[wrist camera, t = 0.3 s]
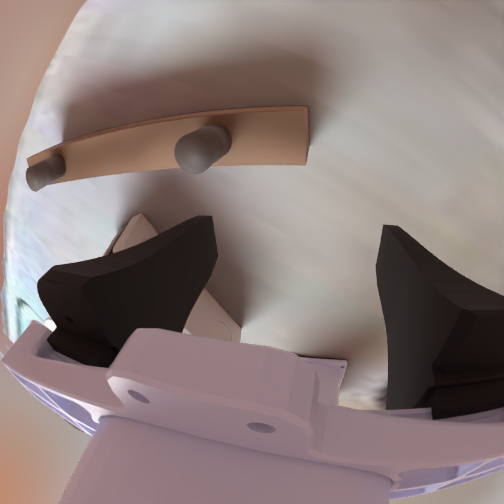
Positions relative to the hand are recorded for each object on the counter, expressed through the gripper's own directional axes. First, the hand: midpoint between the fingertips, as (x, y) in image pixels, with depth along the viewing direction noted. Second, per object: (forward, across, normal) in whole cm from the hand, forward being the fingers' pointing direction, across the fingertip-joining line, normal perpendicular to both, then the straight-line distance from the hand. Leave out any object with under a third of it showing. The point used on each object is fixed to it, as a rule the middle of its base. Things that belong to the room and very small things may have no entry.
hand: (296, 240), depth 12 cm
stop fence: (+10, +12, -3) cm, 16 cm away
